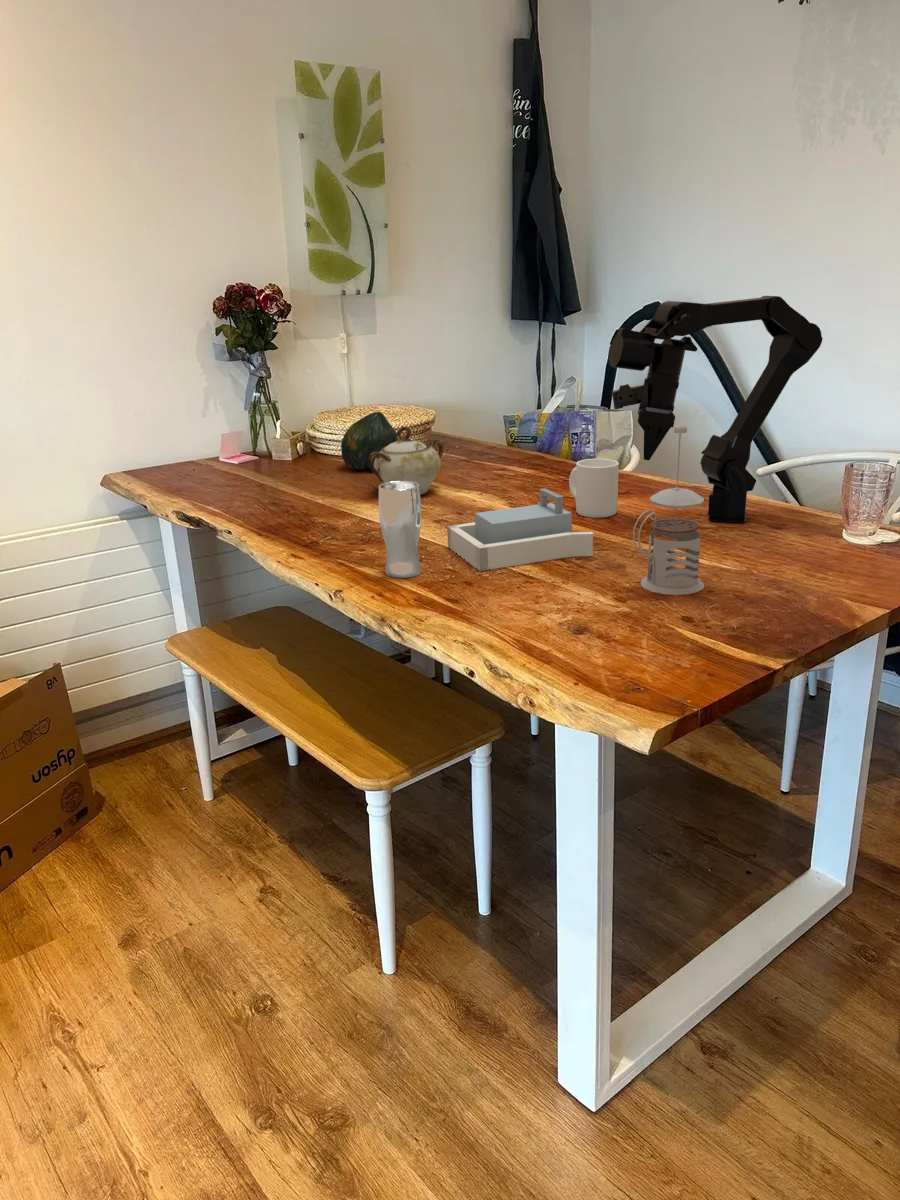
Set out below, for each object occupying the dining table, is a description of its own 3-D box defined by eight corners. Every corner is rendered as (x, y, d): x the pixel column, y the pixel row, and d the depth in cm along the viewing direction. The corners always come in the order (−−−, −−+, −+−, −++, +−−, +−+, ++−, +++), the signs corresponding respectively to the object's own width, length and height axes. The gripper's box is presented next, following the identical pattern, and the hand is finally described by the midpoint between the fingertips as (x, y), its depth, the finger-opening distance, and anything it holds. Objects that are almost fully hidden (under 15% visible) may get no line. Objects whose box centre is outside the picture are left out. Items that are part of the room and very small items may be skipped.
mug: (555, 509, 187) (555, 459, 183) (585, 502, 191) (586, 454, 187) (595, 520, 177) (596, 469, 174) (625, 513, 182) (627, 462, 178)
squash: (324, 446, 231) (345, 405, 221) (370, 440, 241) (393, 400, 230) (350, 489, 227) (373, 449, 216) (396, 480, 237) (420, 442, 226)
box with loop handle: (550, 539, 167) (551, 486, 164) (571, 551, 160) (571, 496, 157) (476, 550, 162) (474, 496, 159) (493, 563, 155) (492, 506, 152)
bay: (548, 530, 172) (548, 509, 171) (595, 555, 156) (595, 533, 155) (445, 545, 165) (444, 524, 164) (483, 573, 150) (482, 550, 148)
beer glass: (375, 577, 150) (370, 489, 145) (393, 564, 156) (388, 479, 151) (414, 581, 147) (409, 491, 142) (430, 567, 154) (426, 481, 148)
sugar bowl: (388, 506, 194) (384, 436, 189) (354, 493, 205) (349, 427, 200) (462, 491, 204) (460, 424, 199) (426, 480, 216) (423, 417, 210)
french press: (717, 589, 139) (728, 426, 130) (648, 599, 136) (656, 433, 127) (683, 570, 147) (692, 416, 139) (619, 579, 145) (624, 423, 136)
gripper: (620, 365, 173) (604, 446, 177) (618, 369, 155) (601, 459, 160) (679, 374, 171) (661, 455, 176) (683, 379, 153) (664, 469, 158)
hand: (646, 459), depth 167 cm, fingers closed
